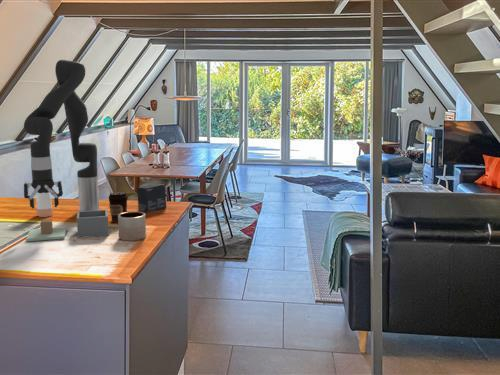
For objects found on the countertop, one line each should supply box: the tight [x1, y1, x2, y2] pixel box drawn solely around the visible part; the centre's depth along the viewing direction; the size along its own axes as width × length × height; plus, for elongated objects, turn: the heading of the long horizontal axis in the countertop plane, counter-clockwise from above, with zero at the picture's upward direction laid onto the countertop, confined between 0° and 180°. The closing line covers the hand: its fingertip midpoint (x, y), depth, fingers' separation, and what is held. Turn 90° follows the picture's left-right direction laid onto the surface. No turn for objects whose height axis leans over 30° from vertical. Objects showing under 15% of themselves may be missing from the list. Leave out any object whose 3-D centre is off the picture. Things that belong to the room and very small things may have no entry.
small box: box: [136, 182, 167, 213], centre depth 252 cm, size 13×7×12 cm, turn 144°
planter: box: [117, 210, 147, 242], centre depth 204 cm, size 11×11×10 cm
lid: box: [26, 218, 67, 242], centre depth 206 cm, size 14×14×7 cm
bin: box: [76, 209, 110, 239], centre depth 211 cm, size 12×12×8 cm
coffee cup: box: [108, 191, 129, 223], centre depth 228 cm, size 9×8×13 cm
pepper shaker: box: [35, 192, 54, 218], centre depth 237 cm, size 7×7×19 cm
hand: (44, 207), depth 204 cm, fingers open, 8 cm apart
